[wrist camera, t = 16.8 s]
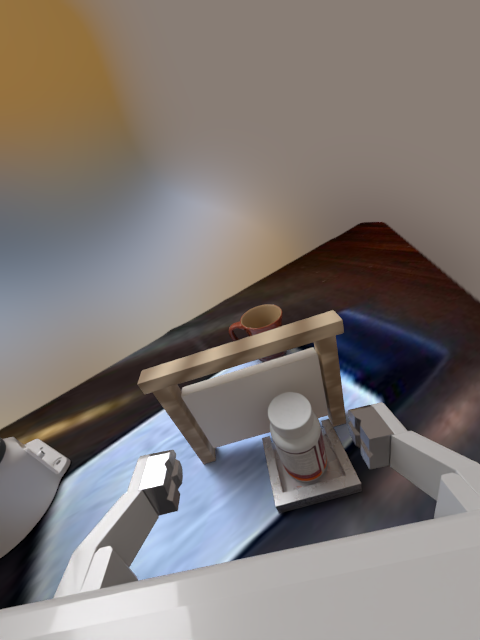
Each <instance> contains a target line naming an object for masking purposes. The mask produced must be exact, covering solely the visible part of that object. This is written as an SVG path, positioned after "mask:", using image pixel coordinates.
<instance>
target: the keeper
mask: <svg viewBox="0 0 480 640" xmlns="http://www.w3.org/2000/svg"><path fill="white" fill-rule="evenodd" d="M321 422H322V427H323V428H321V431H322V436H323V440H324V445H325V450H326V455H327V466H326V469H325V471H324V473H323V474H322V475H321V476H320V477H319V478H318V479H317V480H314V481H311V482H301V481H298V480H296V479H294V478H292V477H291V476H290V475H289V474H288V473H287V471H286V470H285V468H284V466H283V464H282V461H281V459H280V456H279V454H278V452H277V449H276V447H275V444H274V442H272V441H271V438H270V436H268V437H264V438H262V441H263V446H264V451H265V456H266V461H267V466H268V471H269V476H270V481H271V486H272V491H273V496H274V501H275V506H276V508H277V510H278V512H279V513H283V512H287V511H291V510H294V509H298V508H302V507H305V506H309V505H313V504H317V503H320V502H324V501H328V500H331V499H335V498H339V497H343V496H346V495H350V494H354V493H357V492H361V491H362V487H361V482H360V480H359V478H358V476H357V474H356V472H355V470H354V468H353V466H352V464H351V462H350V460H349V458H348V456H347V454H346V452H345V450H344V448H343V446H342V444H341V442H340V440H339V438H338V436H337V434H336V432H335V430H334V428H333V426H332V424H331V422H330V420H329V419H326V420H323V421H321Z"/></svg>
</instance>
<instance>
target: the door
mask: <svg viewBox="0 0 480 640" xmlns="http://www.w3.org/2000/svg"><path fill="white" fill-rule="evenodd" d="M287 392H294V393H299V394H301V395H303V396H304V397H305V398H307V400H308V401H309V402H310V404H311V407H312V411H313V412H314V413H315V415H316V416H317V418H320V417H324V416H327V415H328V409H327V404H326V398H325V392H324V387H323V381H322V376H321V370H320V364H319V359H318V354H317V353H316V351H315V350H314V348H313V347H312V348H309V349H306V350H302V351H299V352H296V353H293V354H290V355H286V356H283V357H280V358H277V359H273V360H270V361H267V362H264V363H260V364H257V365H254V366H251V367H247V368H244V369H241V370H238V371H234V372H231V373H228V374H225V375H221V376H218V377H215V378H212V379H208V380H205V381H202V382H199V383H195V384H192V385H189V386H186V387H183V388H182V394H181V397H182V399H183V400H184V402H185V404H186V405H187V407H188V408H189V410H190V412H191V413H192V415H193V416H194V418H195V420H196V421H197V423H198V424H199V426H200V427H201V429H202V431H203V432H204V434H205V435H206V437H207V439H208V440H209V442H210V443H211V445H212V447H213V448H217V447H220V446H224V445H227V444H231V443H234V442H237V441H241V440H244V439H248V438H251V437H255V436H258V435H262V434H265V433H268V432H270V420H269V417H268V407H269V405H270V403H271V401H272V400H273V399H274V398H275V397H277V396H278V395H280V394H283V393H287Z"/></svg>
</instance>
